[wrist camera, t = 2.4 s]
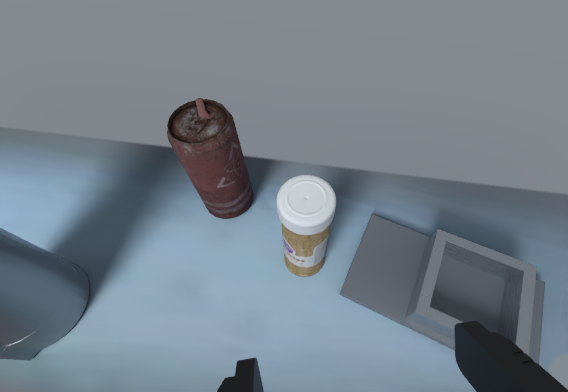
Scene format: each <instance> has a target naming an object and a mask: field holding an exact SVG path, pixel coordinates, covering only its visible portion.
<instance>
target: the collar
mask: <svg viewBox="0 0 568 392" xmlns="http://www.w3.org/2000/svg"><path fill="white" fill-rule="evenodd" d="M443 255H444V256H447V257H449V258H451V259H454V260H456V261H459V262H461V263H464V264H466V265H469V266H471V267H474V268H476V269H479V270H481V271H484V272H486V273H489V274H491V275H493V276H496V277H498V278H501V279H503V280H505V286H504V293H503V300H502V307H501V314H500V321H499V328H498V334H500V335H502V336H504V337H506V338H508V339H510V340H511V341H512V342H513V343H515V344H516V345H517V346H518V347H519V348H520V349H521V350H523V352H524V353H526V354H527V355H528V356H529V346H530V335H531V324H532V313H533V302H534V291H535V281H536V270H537V267H536V266H534V265H531V264H529V263H526V262H523V261H521V260H518V259H516V258H513V257H510V256H508V255H505V254H502V253H500V252H497V251H495V250H492V249H489V248H487V247H484V246H482V245H479V244H476V243H474V242H471V241H469V240H466V239H463V238H461V237H458V236H456V235H453V234H450V233H448V232H445V231H443V230H440V229H438V230H437V231H436V232H435V233H434V234H433V235H432V236H431V237H430V238H429V239H428V241H427V244H426V248H425V251H424V255H423V258H422V262H421V265H420V269H419V272H418V276H417V279H416V283H415V286H414V289H413V293H412V296H411V300H410V303H409V307H408V310H407V314H406V317H405V318H407V319H409V320H411V321H413V322H415V323H418V324H420V325H422V326H424V327H426V328H428V329H430V330H432V331H434V332H436V333H439V334H441V335H443V336H445V337H447V338H449V339H451V340H453V341H455V330H454V328H455V324H457V323H463V322H462V321H460V320H458V319H455V318H453V317H451V316H449V315H447V314H444V313H442V312H440V311H438V310H436V309H433V308H431V307H430V303H431V299H432V295H433V291H434V287H435V283H436V279H437V275H438V271H439V268H440V264H441V260H442V256H443Z"/></svg>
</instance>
